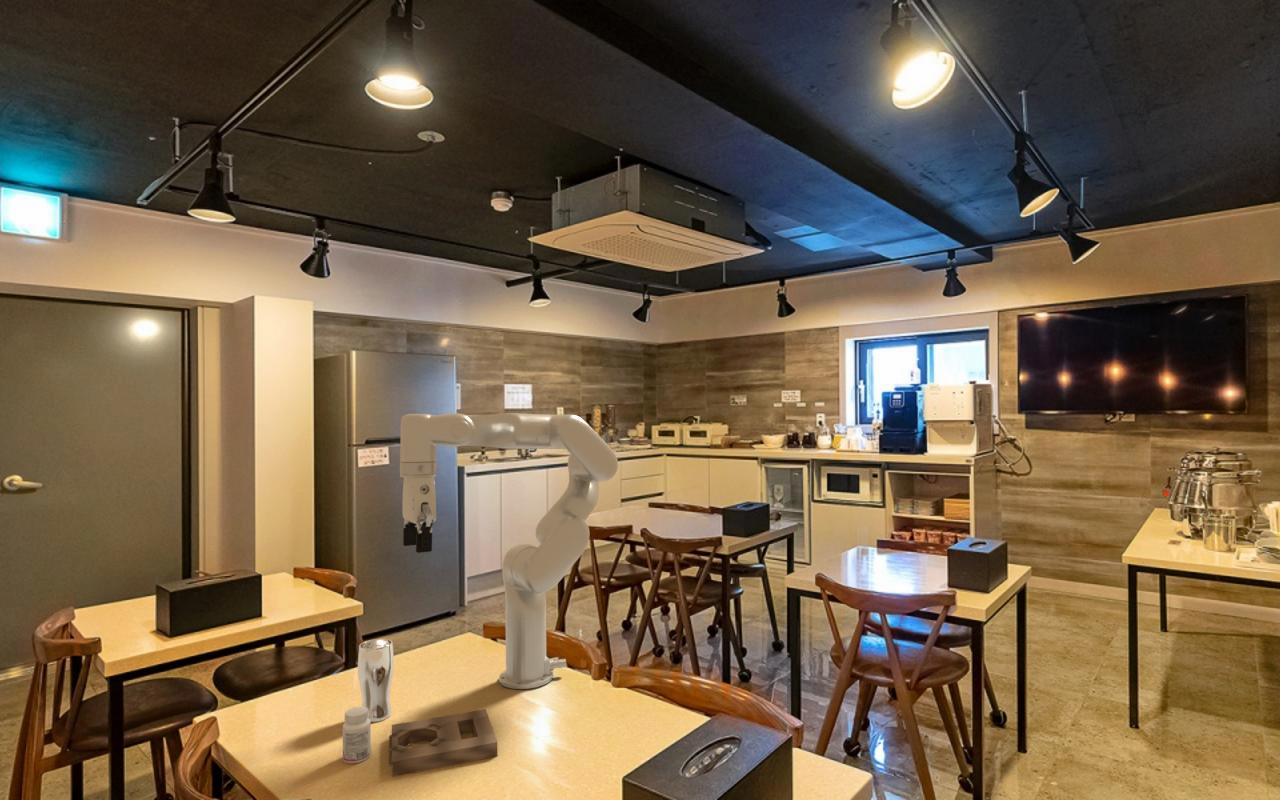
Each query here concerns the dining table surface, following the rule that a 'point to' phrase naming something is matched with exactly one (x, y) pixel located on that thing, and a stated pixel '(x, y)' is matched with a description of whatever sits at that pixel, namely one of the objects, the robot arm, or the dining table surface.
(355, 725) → the pill bottle
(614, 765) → the dining table surface
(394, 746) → the socket plate
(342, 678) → the dining table surface
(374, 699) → the beer glass
